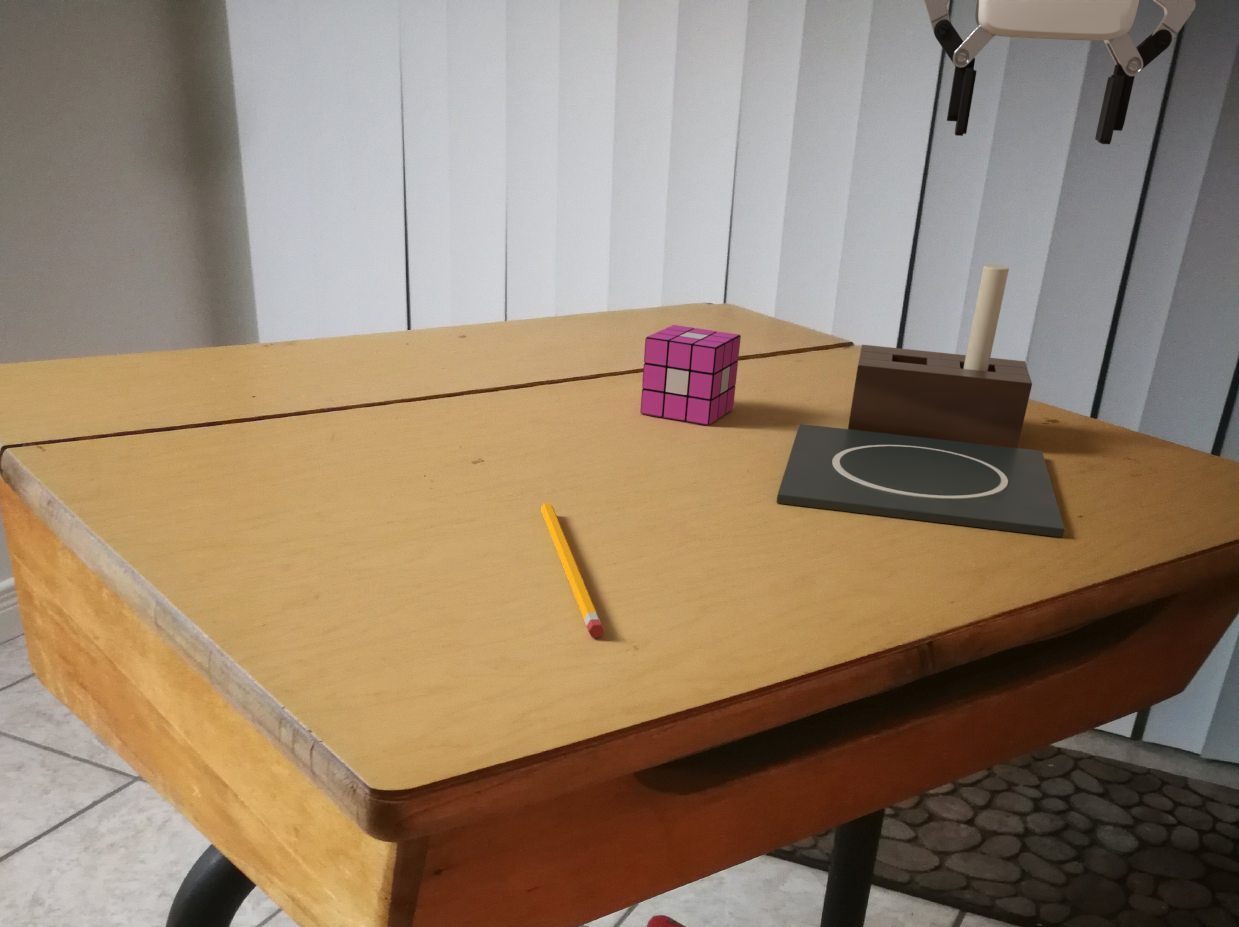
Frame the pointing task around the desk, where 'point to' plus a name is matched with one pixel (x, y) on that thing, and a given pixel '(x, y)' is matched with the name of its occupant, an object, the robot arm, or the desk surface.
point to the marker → (986, 317)
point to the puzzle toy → (689, 374)
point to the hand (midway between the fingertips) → (1030, 138)
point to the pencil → (572, 572)
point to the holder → (939, 396)
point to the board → (921, 480)
